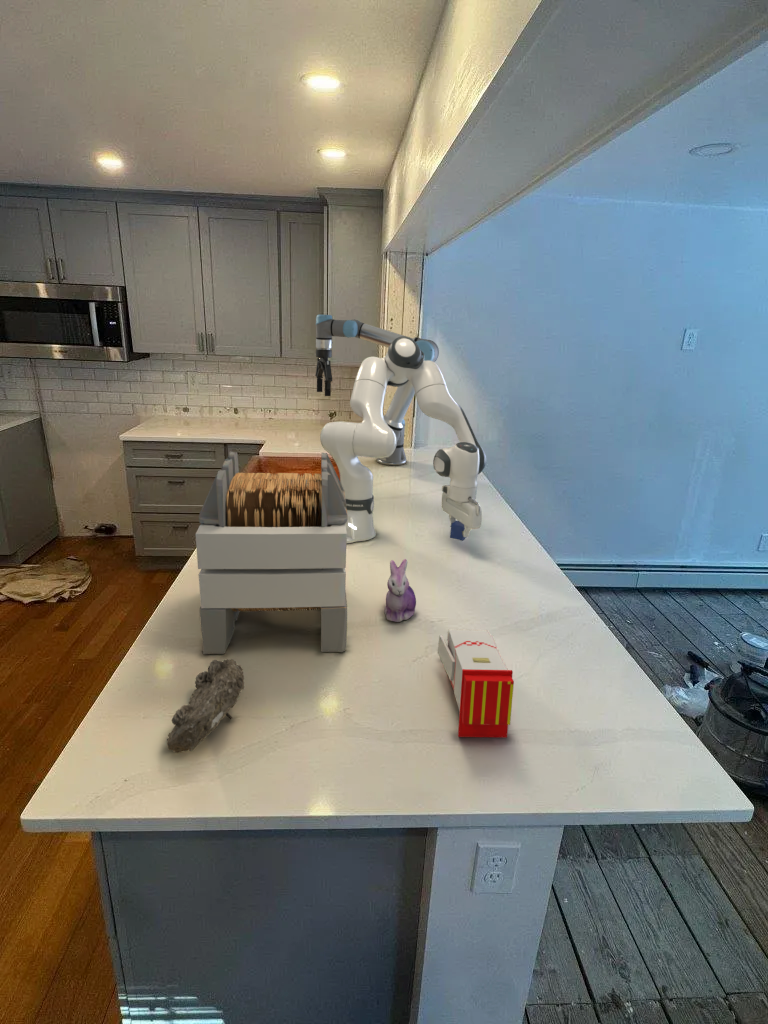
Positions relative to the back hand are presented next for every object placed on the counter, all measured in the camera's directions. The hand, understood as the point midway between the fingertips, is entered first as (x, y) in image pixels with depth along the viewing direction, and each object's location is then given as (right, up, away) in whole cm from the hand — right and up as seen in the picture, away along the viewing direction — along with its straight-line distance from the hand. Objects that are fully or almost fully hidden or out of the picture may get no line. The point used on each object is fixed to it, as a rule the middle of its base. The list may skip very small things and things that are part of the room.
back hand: (323, 394), depth 277 cm
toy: (+47, -95, -158) cm, 191 cm away
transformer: (+3, -84, -133) cm, 158 cm away
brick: (+55, -66, -86) cm, 122 cm away
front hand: (+55, -64, -87) cm, 121 cm away
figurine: (+34, -84, -129) cm, 158 cm away
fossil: (-3, -97, -169) cm, 195 cm away
